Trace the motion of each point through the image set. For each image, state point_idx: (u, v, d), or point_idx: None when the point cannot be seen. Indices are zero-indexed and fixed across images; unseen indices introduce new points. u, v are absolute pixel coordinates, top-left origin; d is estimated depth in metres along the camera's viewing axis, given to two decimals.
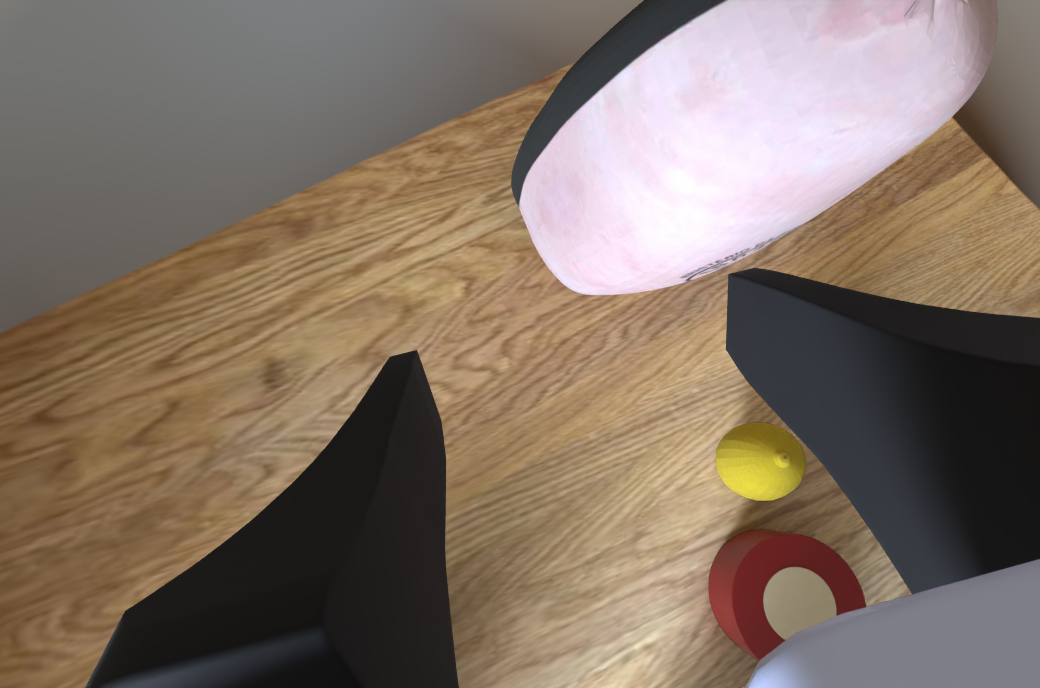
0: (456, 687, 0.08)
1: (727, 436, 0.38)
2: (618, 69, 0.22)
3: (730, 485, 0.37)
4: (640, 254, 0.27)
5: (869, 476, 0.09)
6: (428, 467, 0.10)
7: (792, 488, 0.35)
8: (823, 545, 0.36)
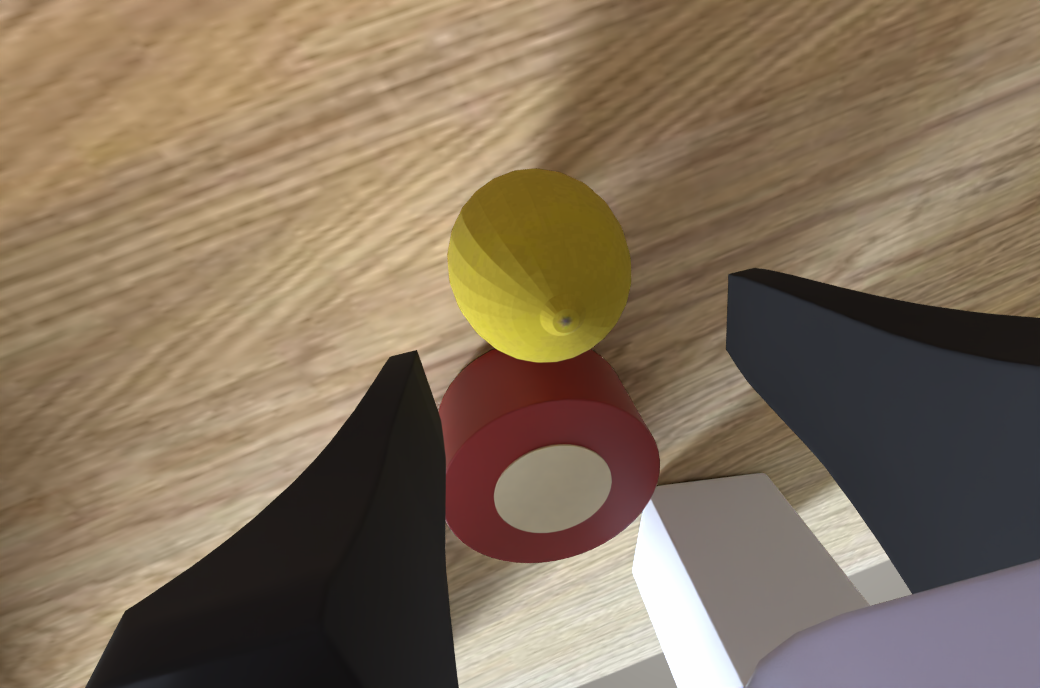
0: (456, 687, 0.08)
1: (470, 208, 0.15)
2: None
3: None
4: None
5: (869, 476, 0.09)
6: (428, 467, 0.10)
7: (579, 353, 0.15)
8: (620, 413, 0.19)
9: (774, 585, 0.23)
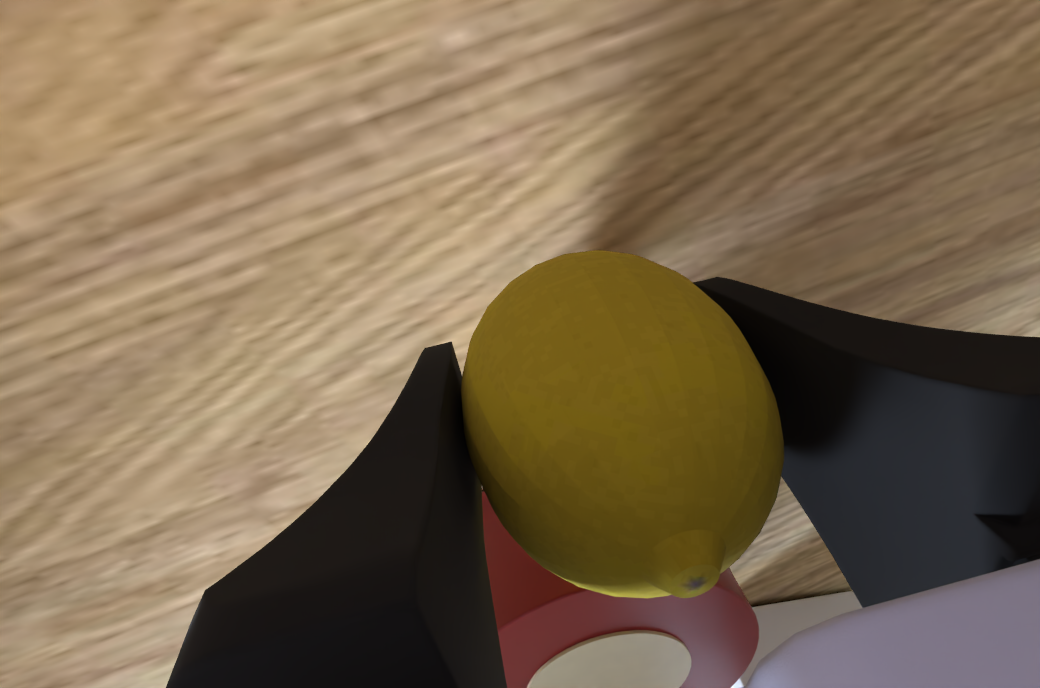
0: (503, 674, 0.08)
1: (502, 329, 0.09)
2: None
3: None
4: None
5: (821, 489, 0.09)
6: (467, 457, 0.10)
7: None
8: (713, 589, 0.13)
9: None
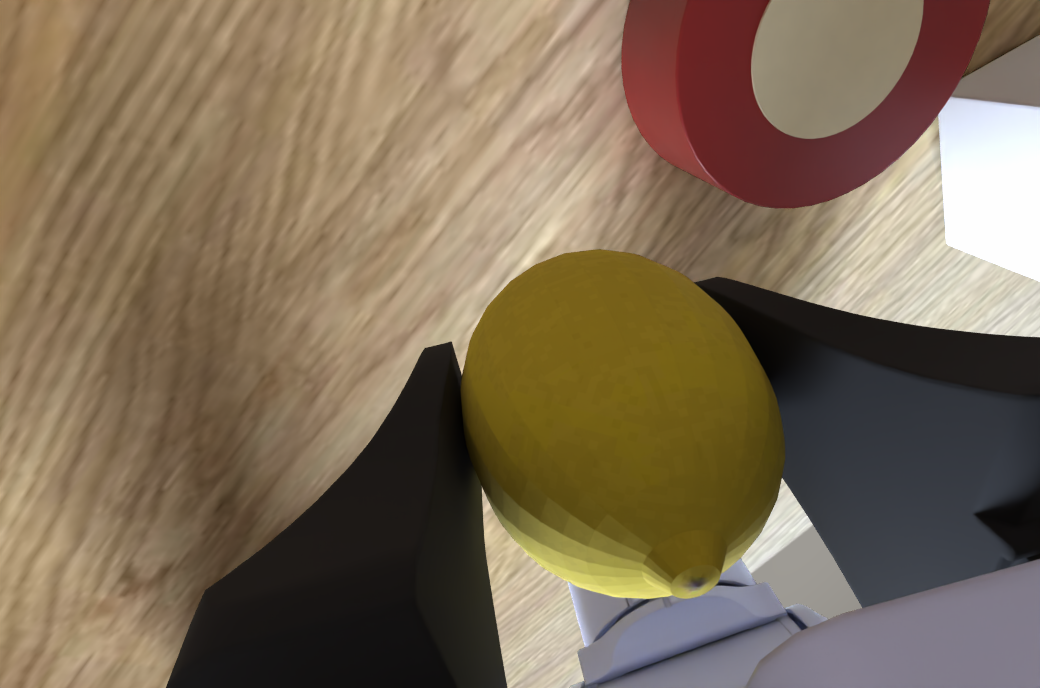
0: (503, 674, 0.08)
1: (501, 329, 0.09)
2: None
3: None
4: None
5: (821, 489, 0.09)
6: (467, 457, 0.10)
7: None
8: None
9: None
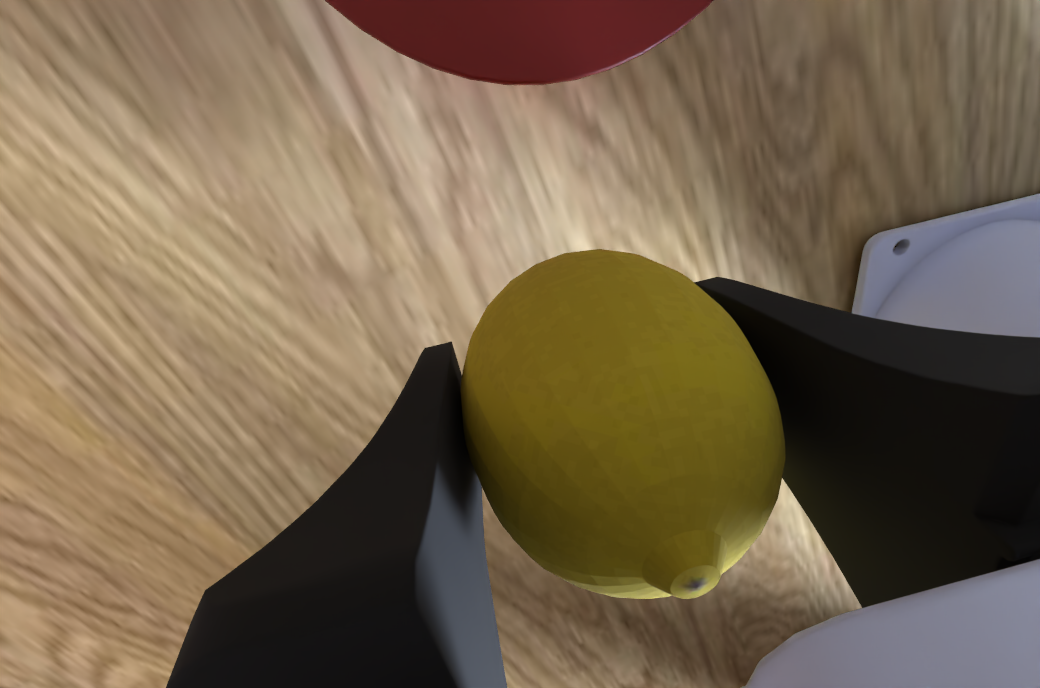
0: (503, 674, 0.08)
1: (502, 329, 0.09)
2: None
3: None
4: None
5: (821, 489, 0.09)
6: (467, 457, 0.10)
7: None
8: None
9: None
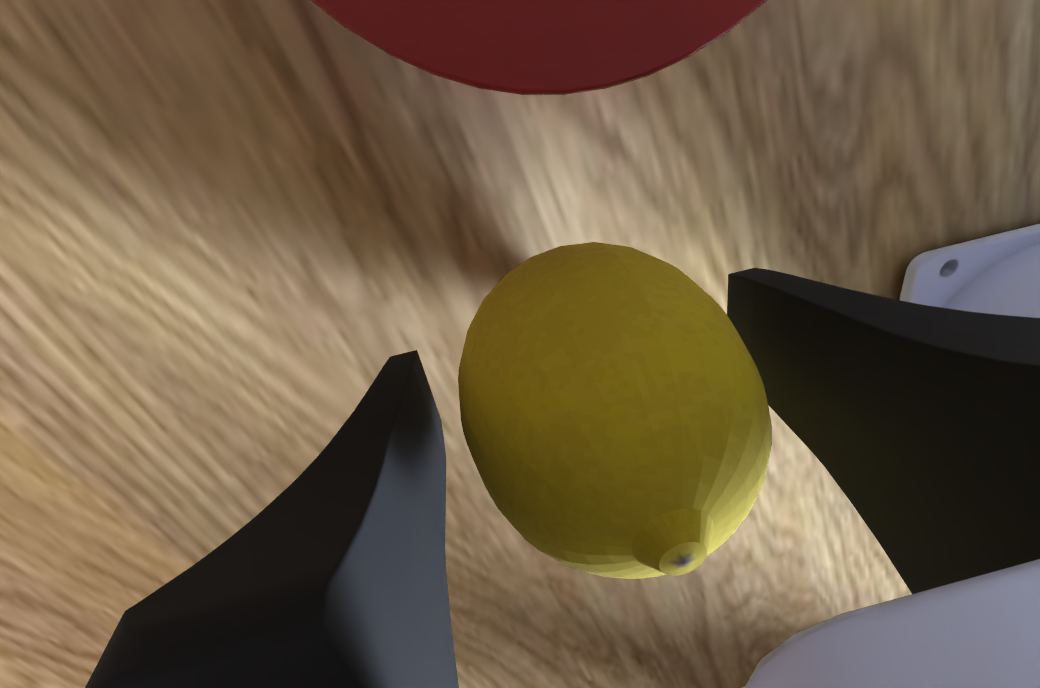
0: (456, 687, 0.08)
1: (498, 318, 0.09)
2: None
3: None
4: None
5: (869, 476, 0.09)
6: (428, 467, 0.10)
7: None
8: None
9: None
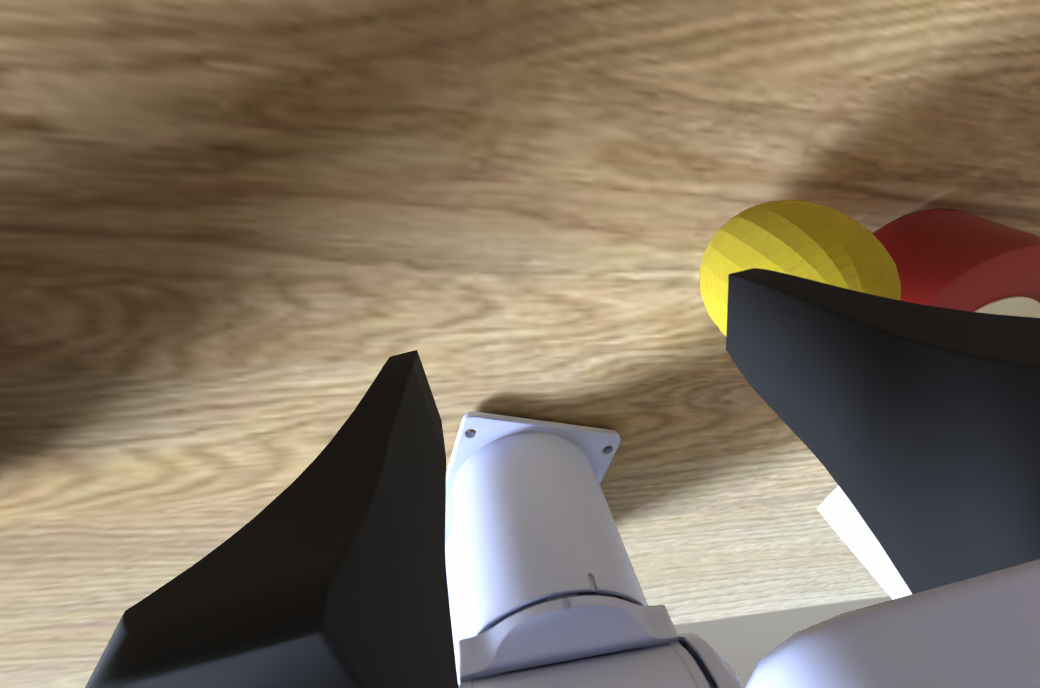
0: (456, 687, 0.08)
1: None
2: None
3: (797, 206, 0.17)
4: None
5: (869, 476, 0.09)
6: (428, 467, 0.10)
7: None
8: None
9: None
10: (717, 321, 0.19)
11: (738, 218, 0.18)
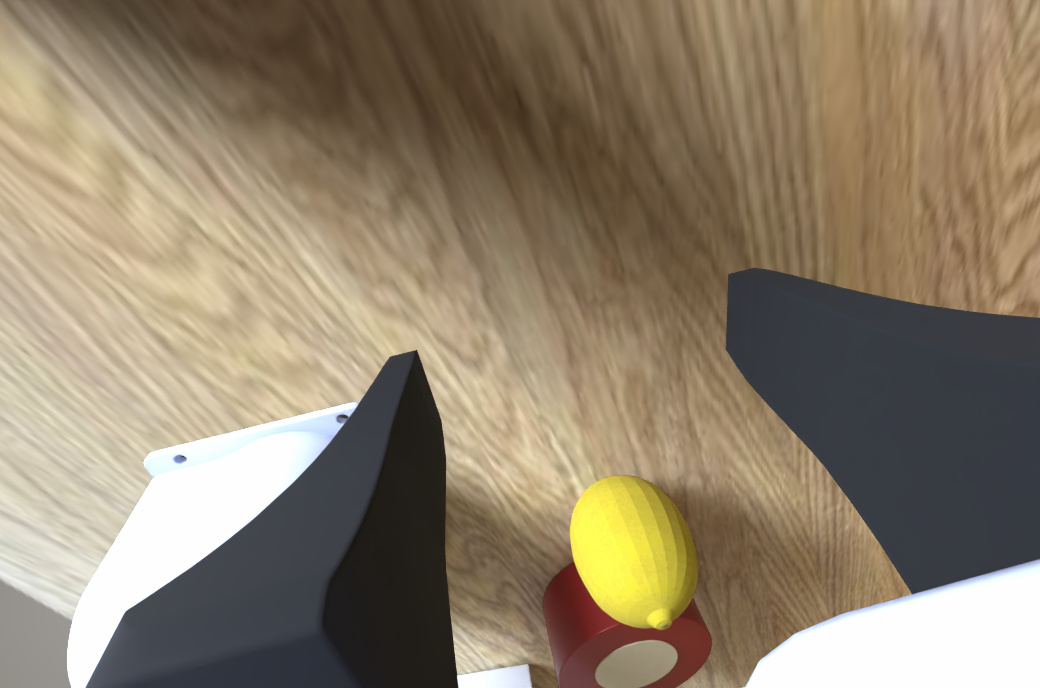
0: (456, 687, 0.08)
1: None
2: None
3: (680, 513, 0.24)
4: None
5: (869, 476, 0.09)
6: (428, 467, 0.10)
7: (634, 563, 0.21)
8: (689, 677, 0.31)
9: None
10: (586, 528, 0.23)
11: (648, 484, 0.24)
